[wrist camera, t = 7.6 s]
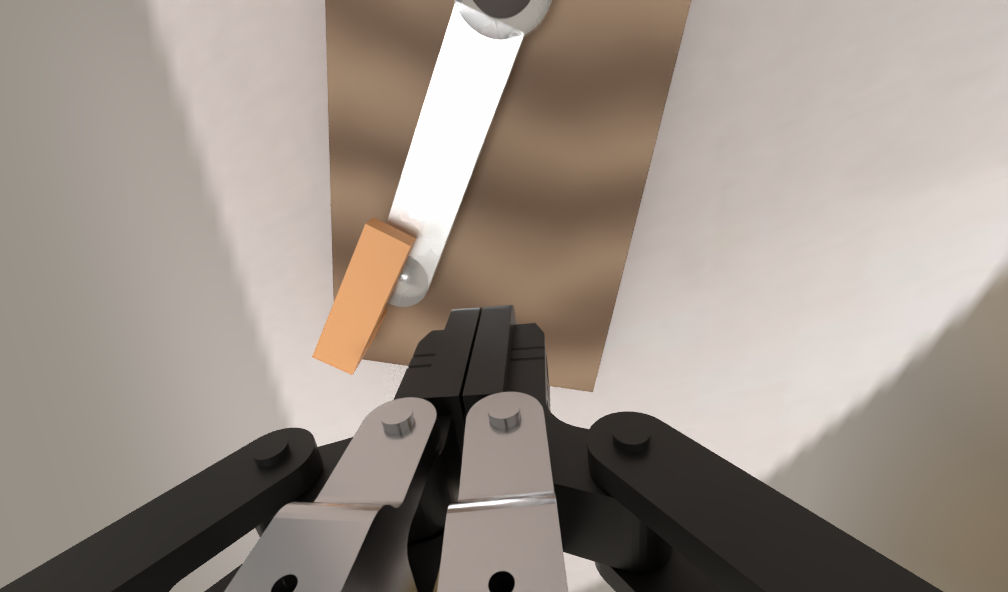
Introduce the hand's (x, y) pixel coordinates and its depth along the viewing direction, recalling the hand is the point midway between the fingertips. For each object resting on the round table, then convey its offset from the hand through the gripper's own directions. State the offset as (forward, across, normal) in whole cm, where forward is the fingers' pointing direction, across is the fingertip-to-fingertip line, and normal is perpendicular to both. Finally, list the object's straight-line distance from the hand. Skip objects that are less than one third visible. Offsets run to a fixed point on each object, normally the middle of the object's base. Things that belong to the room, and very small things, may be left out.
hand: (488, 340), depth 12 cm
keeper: (+16, +9, +4) cm, 18 cm away
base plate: (+17, +2, -1) cm, 17 cm away
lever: (+16, +3, -3) cm, 16 cm away
